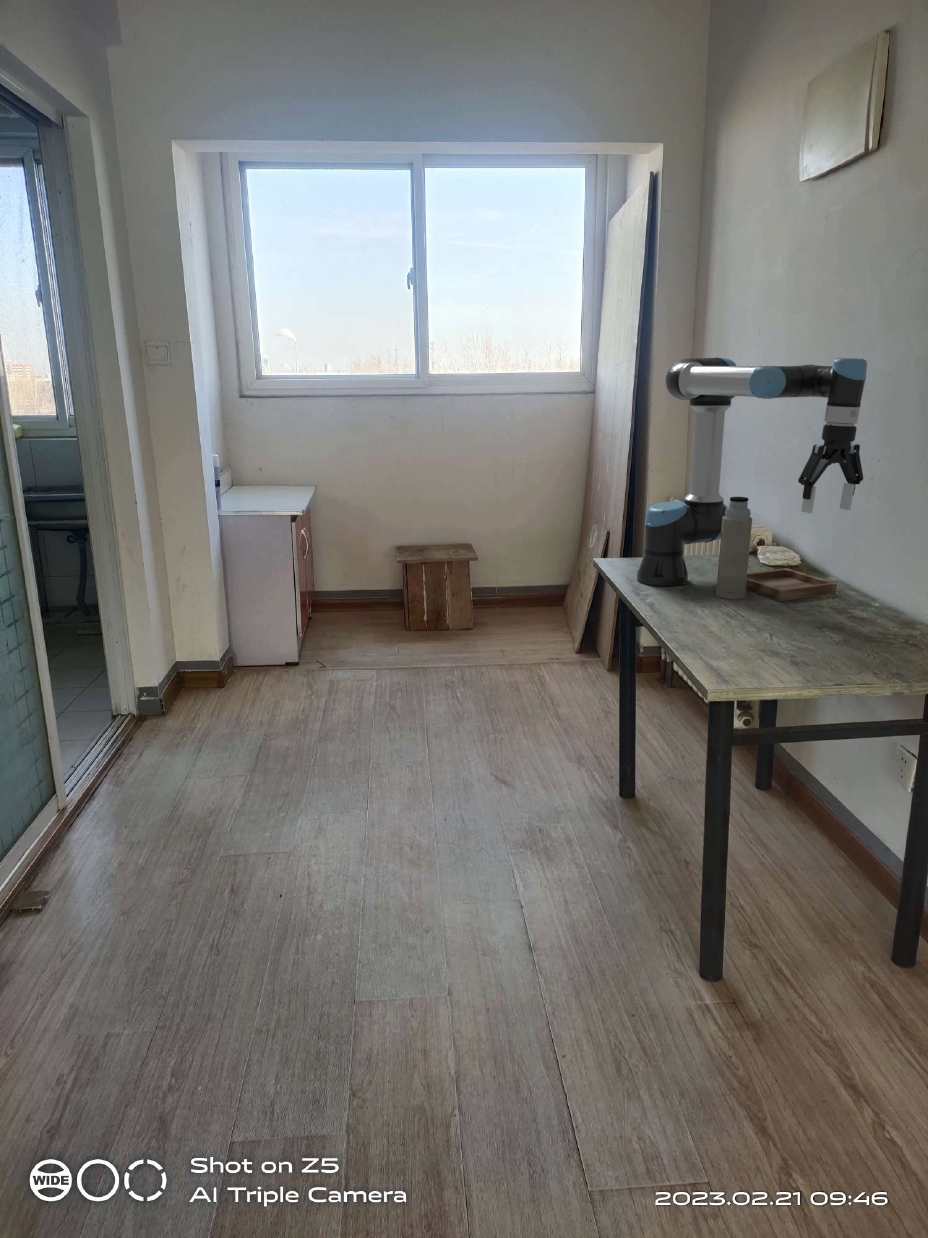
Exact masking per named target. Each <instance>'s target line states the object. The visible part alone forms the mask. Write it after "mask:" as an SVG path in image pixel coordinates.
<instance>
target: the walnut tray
mask: <svg viewBox="0 0 928 1238" xmlns="http://www.w3.org/2000/svg"><path fill="white" fill-rule="evenodd" d="M837 585H838V583H836V582H833V581H830V580H826V579H823V578H820V577H818V576H815V575H814V576H813V575H811V574H807V573H803V572H801V571H797V570H794V569H790V568H787V567H786V568H778V569H771V570H761V571H754V572H747V583H746V591H749V592H752V593H755V594H758V595H760V596H764V597H766V598H769V599H772V600H774V601H778V602H781V603H782V602H787V601H792V600H801V599H808V598H814V597H815V598H816V597H821V596H822V595H823V596H828V595H827V594H830V595H836V594H835V593H837Z"/></svg>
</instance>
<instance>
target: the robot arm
mask: <svg viewBox="0 0 928 1238" xmlns="http://www.w3.org/2000/svg"><path fill="white" fill-rule="evenodd" d="M867 368H868V361H867V360H866V358H865V359H864V358H852V357H851V358H850V357H848V358H847V357H836V358H835V359H834V361H833V365H830V366H829V365H816V364H804V365H803V364H802V365H737V364H736V362H734V361H733V360H732V359H729V358H723V357H706V358H705V357H701V358H697V357H696V358H683V359H680V360H677V361H675V362H674V363H673V364H672V365H671V366H670V368H669V369H668V370H667V373H666V375H665V386H666V390H667V391H668V392H669V394H670V395H671V396H672V397H674V398H676V399H678V400H681V401H689V407H690V408H691V409H692V410H693V411H694V419H693V420H694V421H693V422H694V423H693V434H692V435H693V436H692V451H691V463H690V464H691V465H690V466H691V467H690V480H689V484H690V485H689V493H688V494H687V495H686V496H684V498H683V501H677V500H676V501H675V500H674V501H673V500H672V501H661V502H658V503H655V504H652V505H650V506H649V507H648V508H647V510H646V515H645V516H646V517H645V519H644V524H645V530H644V531H645V532H644V549H643V556H642V559H641V562H640V565H639V567H638V569H637V572H636V580H637V581H638V582H639V581H640V583H642V584H645V585H649V586H650V585H651V586H656V585H657V586H658V587H674V585H677V586H682V585H685V584H687V583H688V579H689V573H688V569H687V566H686V561H685V558H684V551H685V545H693V544H698V543H699V544H701V543H711V542H715V541H719V540H721V528H722V517H723V516H725V511H726V509H727V508H728V507H729V506H727V505H726V504H725V503H724V502H725V500H724V497H722V495H721V493H720V487H721V485H720V484H721V483H720V482H721V470H722V469H721V468H722V458H723V457H722V456H723V445H724V443H723V442H724V431H725V430H724V429H725V419H726V418H725V415H726V412H727V410H728V409H729V408H730V407H731V406H732V399H734V398H736V397H749V398H758V399H764V400H765V399H766V400H767V399H769V400H772V399H780V398H809V397H810V398H811V397H813V398H826V399H827V403H826V409H825V413H824V420H823V422H824V423H826V424H824V425H823V428H822V433H821V439H822V440H823V445H822V444H821V445H820V444H814V445H813V446H812V451H811V453H810V456H809V458H808V460H807V462H806V464H805V466H804V467H803V470H802V472H801V473H800V475H799V477H798V481H797V482H798V483H799V484H800V485H801V486H803V489H802V490H803V492H802V505H801V512H802V513H803V512H804V513H808V514H813V509H814V503H815V497H816V491H817V486H815V484H816V483H817V482H818V480H819V479H820V478H821V476H822V475H823V474H824V472H825V471H826V470H827V469H828V467H829V466H831V465H832V464H838V465H839V467H840V469H841V471H842V473H843V476H844V478H845V481H846V482H843V484H842V485H843V486H842V493H841V498H840V503H839V509H842V510H844V511H845V510H846V511H851V508H852V504H853V497H854V495H855V490H856V485H860V484H861V482H863V480H864V474H863V469H862V468H863V467H862V461H861V456H860V455H861V454H860V449H861V445H860V444H858V443H853V442H854V441H855V440H856V435H857V429H858V428H857V426H856V424H858V422H859V415H860V409H861V404H862V403H861V402H862V398H863V392H864V388H865V383H866V380H867V370H868V369H867Z"/></svg>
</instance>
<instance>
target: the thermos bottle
mask: <svg viewBox="0 0 928 1238" xmlns="http://www.w3.org/2000/svg"><path fill="white" fill-rule="evenodd" d="M748 502H749V497H747V496H746V497H745V496H730V497H729V505H728V506H727V507H728V508H727V509H726V511H725V516H723V517H722V528H721V538H720V539H719V540H720V541H719V542H720V544H719V556H718V557H719V558H718V565H717V567H718V568H717V580H716V591H715V593H716V594H715V595H716V596H718V597H719V598H723V599H731V600H733V599H734V600H737V599H739V600H740V599H743V598H745V597H746V593H747V590H746V583H747V573H748V569H749V568H748V565H749V558H750V550H751V549H750V547H751V537H752V527H753V526H752V525H753V518H752V517H751V509H750V508H749V507H748V506H749V505H748V504H749V503H748Z"/></svg>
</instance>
